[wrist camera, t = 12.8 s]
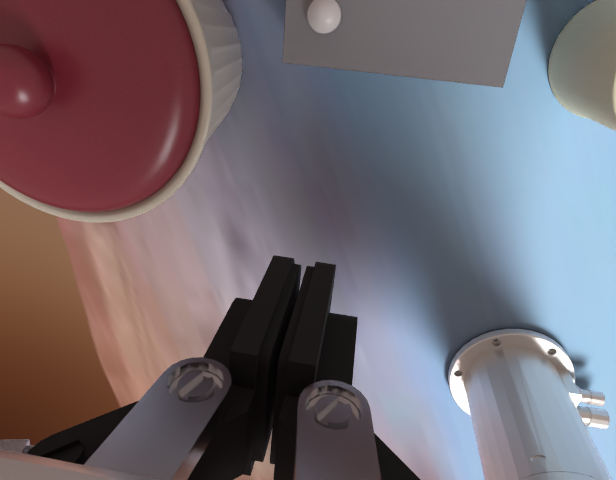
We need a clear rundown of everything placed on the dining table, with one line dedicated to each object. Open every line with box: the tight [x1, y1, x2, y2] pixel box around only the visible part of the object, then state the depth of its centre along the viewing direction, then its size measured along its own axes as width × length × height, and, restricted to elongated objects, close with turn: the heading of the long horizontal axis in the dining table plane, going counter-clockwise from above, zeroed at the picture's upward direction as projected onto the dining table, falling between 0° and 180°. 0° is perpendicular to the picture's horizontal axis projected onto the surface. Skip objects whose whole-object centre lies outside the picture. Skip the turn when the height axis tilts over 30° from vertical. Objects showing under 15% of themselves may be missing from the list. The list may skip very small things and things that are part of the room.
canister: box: [0, 0, 243, 222], centre depth 31 cm, size 18×18×21 cm
